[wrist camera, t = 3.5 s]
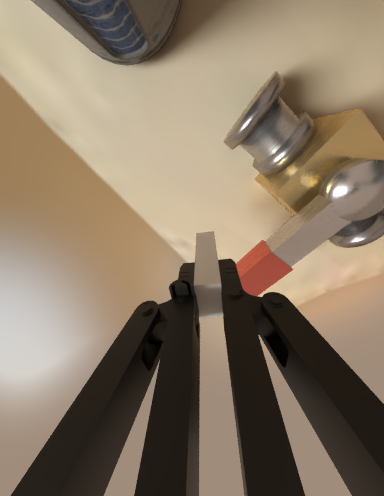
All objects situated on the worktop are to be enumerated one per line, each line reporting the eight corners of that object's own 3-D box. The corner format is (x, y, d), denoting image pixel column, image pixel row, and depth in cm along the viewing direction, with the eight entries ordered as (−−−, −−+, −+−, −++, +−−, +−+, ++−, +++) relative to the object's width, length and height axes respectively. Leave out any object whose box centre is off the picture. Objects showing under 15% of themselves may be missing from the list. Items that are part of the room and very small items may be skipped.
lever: (357, 144, 12) (384, 144, 10) (386, 181, 13) (415, 187, 11) (221, 270, 18) (223, 284, 16) (249, 288, 19) (254, 303, 17)
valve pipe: (218, 146, 20) (227, 148, 13) (266, 78, 17) (313, 31, 10) (315, 235, 25) (360, 271, 18) (367, 195, 22) (446, 219, 15)
